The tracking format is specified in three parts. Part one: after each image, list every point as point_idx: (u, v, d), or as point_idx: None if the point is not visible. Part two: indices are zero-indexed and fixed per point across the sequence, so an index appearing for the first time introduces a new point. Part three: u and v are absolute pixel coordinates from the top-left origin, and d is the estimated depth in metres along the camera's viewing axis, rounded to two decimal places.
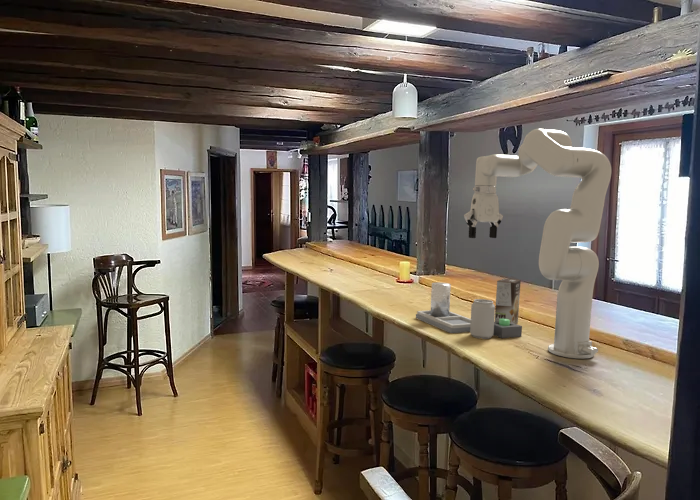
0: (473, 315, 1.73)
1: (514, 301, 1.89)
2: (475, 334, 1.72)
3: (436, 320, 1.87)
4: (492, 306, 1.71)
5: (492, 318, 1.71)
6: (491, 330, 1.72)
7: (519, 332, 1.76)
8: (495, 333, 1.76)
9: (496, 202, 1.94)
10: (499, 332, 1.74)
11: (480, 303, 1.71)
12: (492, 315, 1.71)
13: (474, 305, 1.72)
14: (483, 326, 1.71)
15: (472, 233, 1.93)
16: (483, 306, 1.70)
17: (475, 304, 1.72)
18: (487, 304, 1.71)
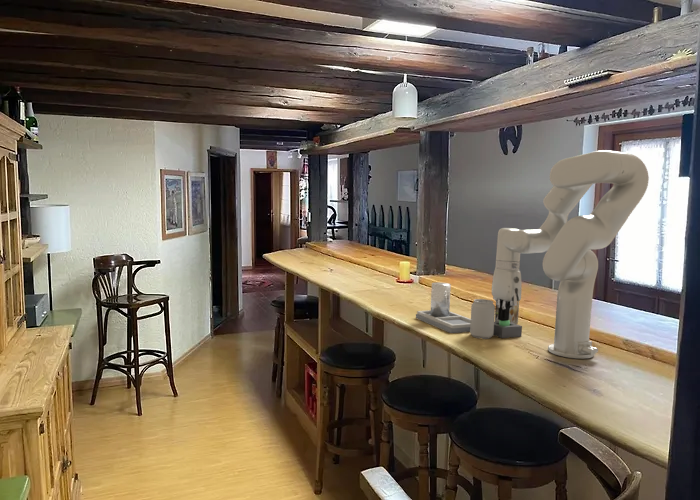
0: (473, 315, 1.73)
1: None
2: (475, 334, 1.72)
3: (436, 320, 1.87)
4: (492, 306, 1.71)
5: (492, 318, 1.71)
6: (491, 330, 1.72)
7: (519, 332, 1.76)
8: (495, 333, 1.76)
9: None
10: (499, 332, 1.74)
11: (480, 303, 1.71)
12: (492, 315, 1.71)
13: (474, 305, 1.72)
14: (483, 326, 1.71)
15: None
16: (483, 306, 1.70)
17: (475, 304, 1.72)
18: (487, 304, 1.71)
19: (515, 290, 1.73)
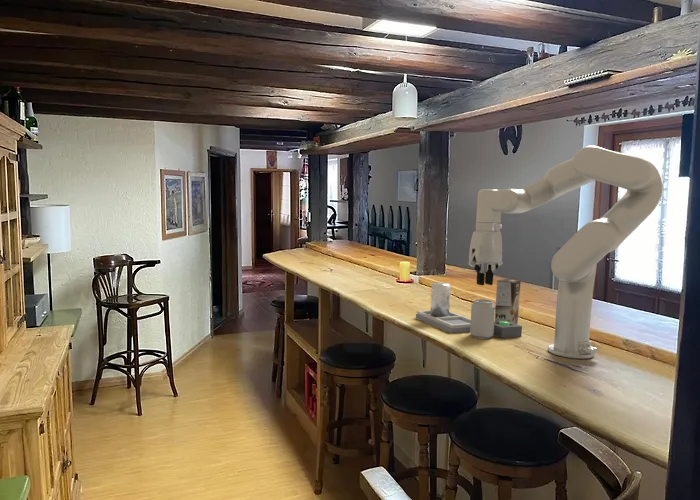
0: (473, 315, 1.73)
1: (514, 301, 1.89)
2: (475, 334, 1.72)
3: (436, 320, 1.87)
4: (492, 306, 1.71)
5: (492, 318, 1.71)
6: (491, 330, 1.72)
7: (519, 332, 1.76)
8: (495, 333, 1.76)
9: None
10: (499, 332, 1.74)
11: (480, 303, 1.71)
12: (492, 315, 1.71)
13: (474, 305, 1.72)
14: (483, 326, 1.71)
15: None
16: (483, 306, 1.70)
17: (475, 304, 1.72)
18: (487, 304, 1.71)
19: None
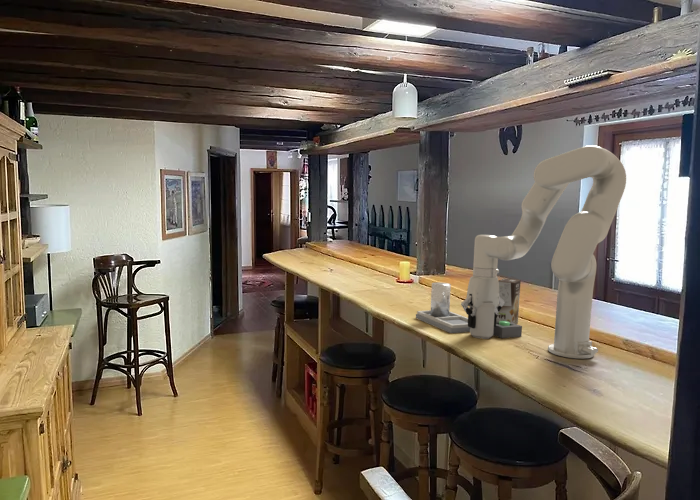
0: None
1: (514, 301, 1.89)
2: (475, 334, 1.72)
3: (436, 320, 1.87)
4: (492, 306, 1.71)
5: (492, 318, 1.71)
6: (491, 330, 1.72)
7: (519, 332, 1.76)
8: (495, 333, 1.76)
9: None
10: (499, 332, 1.74)
11: None
12: (492, 315, 1.71)
13: None
14: (483, 326, 1.71)
15: None
16: (483, 306, 1.70)
17: None
18: (487, 304, 1.71)
19: None
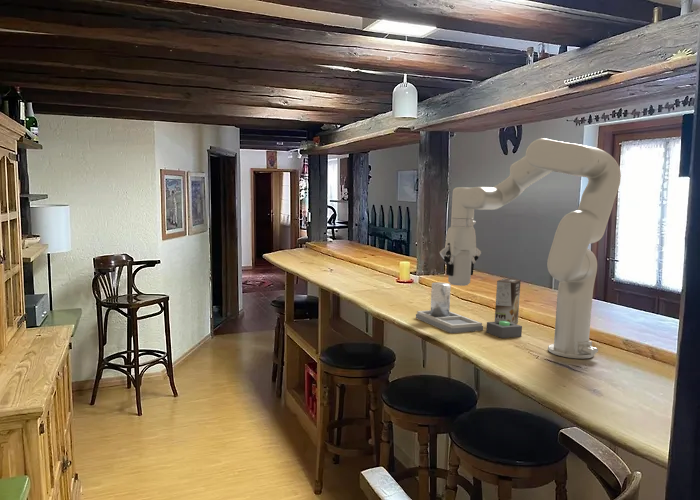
0: None
1: (514, 301, 1.89)
2: (453, 281, 1.82)
3: (436, 320, 1.87)
4: (469, 254, 1.81)
5: (469, 266, 1.81)
6: (468, 277, 1.81)
7: (519, 332, 1.76)
8: (495, 333, 1.76)
9: None
10: (499, 332, 1.74)
11: None
12: (469, 263, 1.81)
13: None
14: (460, 273, 1.80)
15: None
16: (460, 254, 1.80)
17: None
18: (464, 253, 1.80)
19: None
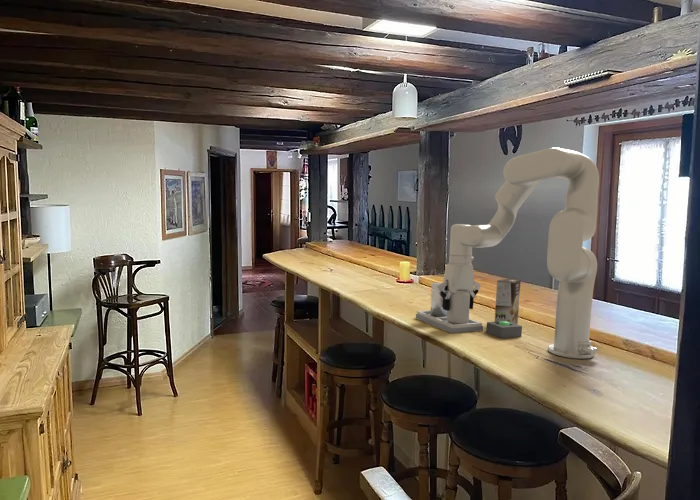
0: None
1: (514, 301, 1.89)
2: (451, 321, 1.83)
3: (436, 320, 1.87)
4: (467, 294, 1.82)
5: (467, 306, 1.82)
6: (466, 317, 1.82)
7: (519, 332, 1.76)
8: (495, 333, 1.76)
9: None
10: (499, 332, 1.74)
11: (456, 291, 1.82)
12: (467, 303, 1.82)
13: None
14: (458, 313, 1.81)
15: None
16: (458, 294, 1.81)
17: None
18: (462, 293, 1.81)
19: None
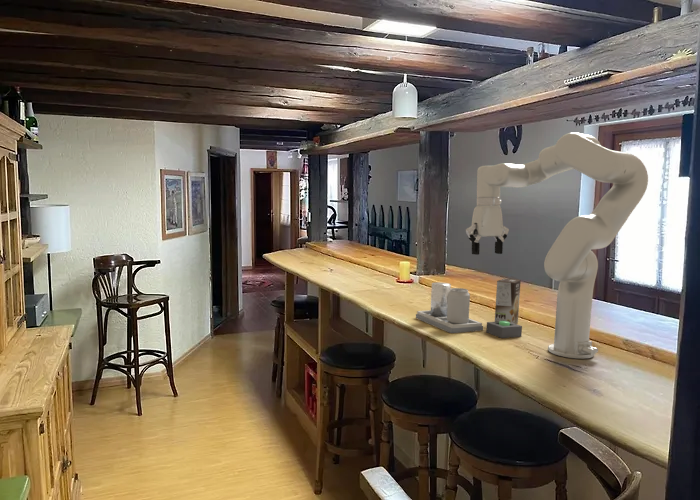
0: (449, 303, 1.83)
1: (514, 301, 1.89)
2: (451, 321, 1.83)
3: (436, 320, 1.87)
4: (467, 294, 1.82)
5: (467, 306, 1.82)
6: (466, 317, 1.82)
7: (519, 332, 1.76)
8: (495, 333, 1.76)
9: None
10: (499, 332, 1.74)
11: (456, 291, 1.82)
12: (467, 303, 1.82)
13: (450, 293, 1.83)
14: (458, 313, 1.81)
15: None
16: (458, 294, 1.81)
17: (451, 292, 1.83)
18: (462, 293, 1.81)
19: None
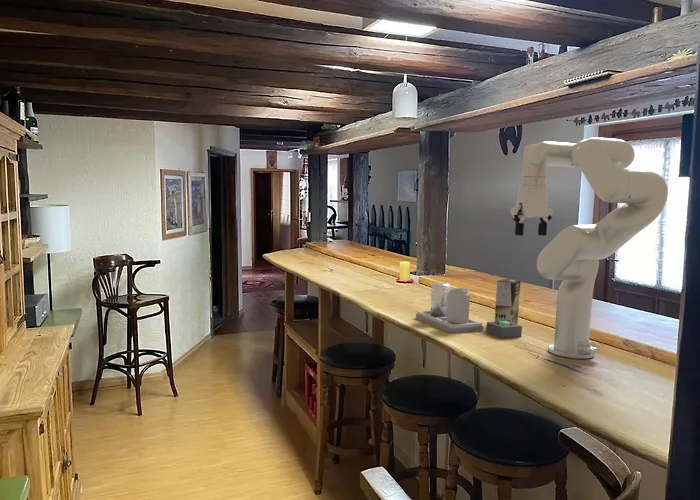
0: (449, 303, 1.83)
1: (514, 301, 1.89)
2: (451, 321, 1.83)
3: (436, 320, 1.87)
4: (467, 294, 1.82)
5: (467, 306, 1.82)
6: (466, 317, 1.82)
7: (519, 332, 1.76)
8: (495, 333, 1.76)
9: None
10: (499, 332, 1.74)
11: (456, 291, 1.82)
12: (467, 303, 1.82)
13: (450, 293, 1.83)
14: (459, 313, 1.81)
15: None
16: (459, 294, 1.81)
17: (451, 292, 1.83)
18: (462, 293, 1.81)
19: None
